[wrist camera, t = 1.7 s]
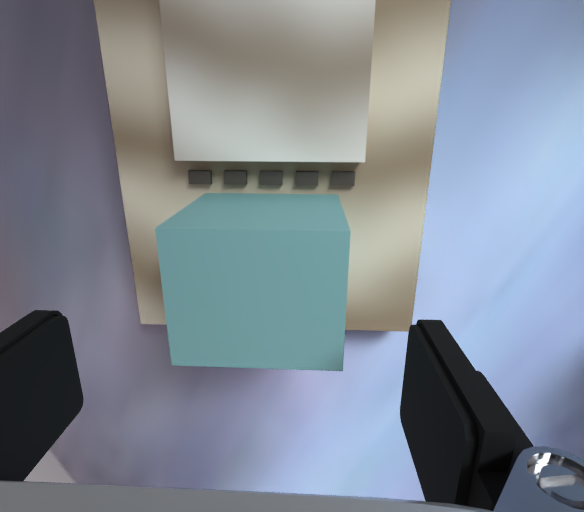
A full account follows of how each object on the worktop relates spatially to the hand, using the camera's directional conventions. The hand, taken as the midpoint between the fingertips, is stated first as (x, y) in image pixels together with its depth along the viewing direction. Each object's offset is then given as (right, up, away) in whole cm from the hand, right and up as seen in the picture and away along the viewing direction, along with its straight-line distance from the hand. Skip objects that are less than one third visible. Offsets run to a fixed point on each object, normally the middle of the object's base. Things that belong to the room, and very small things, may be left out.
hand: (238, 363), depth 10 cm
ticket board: (+1, +8, +8) cm, 12 cm away
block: (+1, +3, +8) cm, 8 cm away
